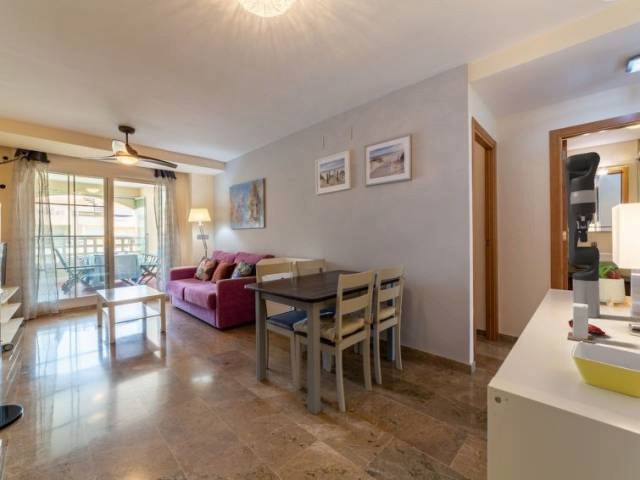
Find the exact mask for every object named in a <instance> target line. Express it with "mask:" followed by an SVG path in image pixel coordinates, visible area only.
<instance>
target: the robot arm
mask: <svg viewBox="0 0 640 480" xmlns="http://www.w3.org/2000/svg"><path fill="white" fill-rule="evenodd" d="M600 163H601V156H600V154H599V153H597V151H591V152H583V153H579V154H577V153H576V154H573V155H569V156H567V158H566V159H565V160H564V180H565V189H566V212H567V213H566V217H567V219H566V220H567V229H568V231H567V232H568V239H567V241H568V244H567V245H568V247H567V248H568V249H567V259H568V262H569V264H570V265H571V266H587V268H586V269H584V270H581V271H577V272H574V273H573V274H572V292H573V293H572V297H573V298H572V301H573V303H572V304H573V305H574V303H579V304H588V318H596V319H598V318H601V307H600V306H601V302H600V259H601V258H600V249H599V248H598V247H597V246H591V245H590V246H587V245H586V246H581V245H579V246H578V243H579V242H580V243H587V242H588V240H589V239H588V232H589V229H590V224H591V223H592V222H593V220H594V214H596V212H597V203H596V200H597V199H596V192H595V187H596V186H595V179H596V178H595V177H596V173H597V170H598V169H599V165H600ZM573 305H572V306H573Z"/></svg>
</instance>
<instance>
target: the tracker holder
mask: <svg viewBox="0 0 640 480" xmlns="http://www.w3.org/2000/svg"><path fill="white" fill-rule="evenodd" d="M566 322H567V323H568V325H569V327H570V328H571V329H573V318H571V319H569V320H567V321H566ZM589 332H596V333H598V334H601V335H606V331H603V330H602V329H601V328H600V327H598V326H596V325H593V324H591V323H588V333H589Z"/></svg>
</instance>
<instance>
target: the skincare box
mask: <svg viewBox="0 0 640 480" xmlns="http://www.w3.org/2000/svg"><path fill="white" fill-rule="evenodd" d="M572 308H573V311H572V319H573V328H572V332H573V337H575V338H580V339H588V335H589V332H588V324H589V317H588V304H579V303H574V305H572Z"/></svg>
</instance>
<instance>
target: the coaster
mask: <svg viewBox="0 0 640 480" xmlns="http://www.w3.org/2000/svg"><path fill="white" fill-rule="evenodd" d="M567 340H569V341H575V342H580V341H583V342H582V343H585V342H589V343H588V344H590V343H593V344H594V335H593V334H588V339H580V338H575V337H573V331H568V333H567ZM580 343H581V342H580Z"/></svg>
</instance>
